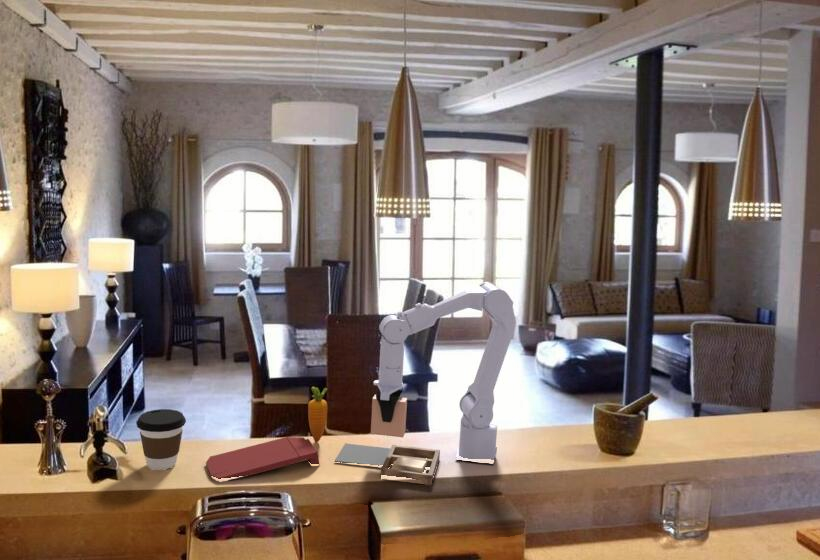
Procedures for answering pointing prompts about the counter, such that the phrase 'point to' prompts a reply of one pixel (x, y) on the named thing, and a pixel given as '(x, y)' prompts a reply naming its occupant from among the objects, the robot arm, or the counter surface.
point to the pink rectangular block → (397, 423)
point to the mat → (362, 454)
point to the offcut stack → (409, 464)
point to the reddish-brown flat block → (262, 457)
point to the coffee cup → (161, 437)
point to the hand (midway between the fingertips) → (388, 419)
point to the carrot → (317, 414)
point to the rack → (412, 453)
